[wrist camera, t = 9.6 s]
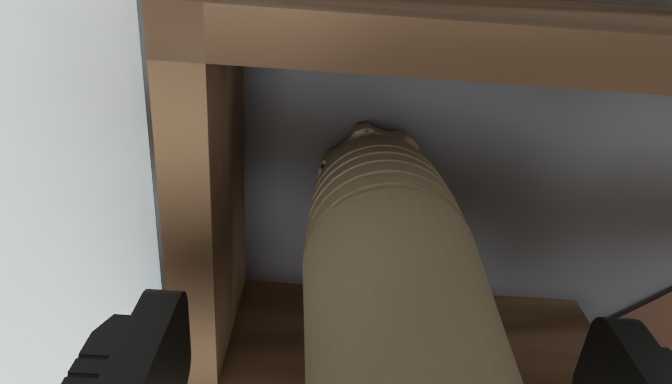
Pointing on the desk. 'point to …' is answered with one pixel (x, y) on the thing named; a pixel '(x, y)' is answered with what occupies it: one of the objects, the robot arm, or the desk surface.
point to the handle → (395, 274)
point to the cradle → (434, 143)
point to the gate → (656, 319)
